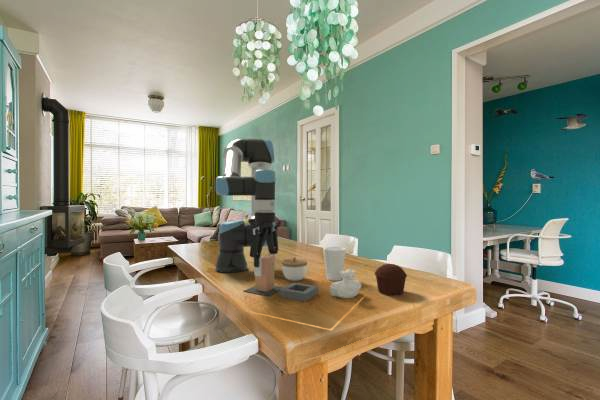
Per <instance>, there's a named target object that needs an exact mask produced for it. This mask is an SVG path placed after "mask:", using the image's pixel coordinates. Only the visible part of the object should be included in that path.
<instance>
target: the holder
mask: <svg viewBox="0 0 600 400" xmlns="http://www.w3.org/2000/svg"><path fill="white" fill-rule="evenodd" d="M283 287H284V288H282V289H280V291H279V297H280V298H283V299H289V300H295V301H298V302H299V301H300V302H305V303H307V301H309V300H310V299H312V298H313V297H315V296H317V294H319V286H318V285H312V284H307V283H300V282H292V283H289V284H287V285H286V286H283Z"/></svg>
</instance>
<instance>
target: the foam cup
mask: <svg viewBox="0 0 600 400" xmlns="http://www.w3.org/2000/svg"><path fill="white" fill-rule="evenodd" d="M322 254H323V258H324V265H325V274H326V280H328V281H333V282H338V281H342V280H343V275H342V274H341V273H340V271H344V266H345V265H344V263H345V258H346V257H345V256H346V248H345V247H343V246H342V247H341V246H325V247H323V253H322Z"/></svg>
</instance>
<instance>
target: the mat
mask: <svg viewBox="0 0 600 400" xmlns="http://www.w3.org/2000/svg"><path fill="white" fill-rule="evenodd" d="M284 287H285V286H280V285H279V286H278V285H274V289H271V290H269V291H267V292H264V291H259V290H255V285H254V286H252V287H249V288H247V289H245V290H243V292H244V293H249V294H253V295H258V296H264V297H268V298H269V297H271V296H273V295H274V294H275V295H276V293H278V292H279V293H280V289H282V288H284Z"/></svg>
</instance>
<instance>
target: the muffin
mask: <svg viewBox="0 0 600 400" xmlns="http://www.w3.org/2000/svg"><path fill="white" fill-rule="evenodd" d="M374 275H375V277H376V284H377V285H376V286H377V291H378V293H379V294H382V295H386V296H393V297H394V296H401V295H402V294H404V290H405V283H406V278H407V276H408V275H407V274H406V272H405V270H404V269H403V268H402V267H401V266H400V265H397V264H394V263H385V264H382V265H381V266H379V267H378V268H377V269H376V270H375V272H374Z"/></svg>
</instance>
